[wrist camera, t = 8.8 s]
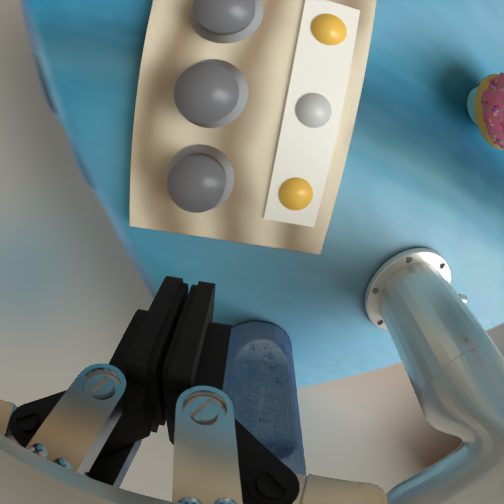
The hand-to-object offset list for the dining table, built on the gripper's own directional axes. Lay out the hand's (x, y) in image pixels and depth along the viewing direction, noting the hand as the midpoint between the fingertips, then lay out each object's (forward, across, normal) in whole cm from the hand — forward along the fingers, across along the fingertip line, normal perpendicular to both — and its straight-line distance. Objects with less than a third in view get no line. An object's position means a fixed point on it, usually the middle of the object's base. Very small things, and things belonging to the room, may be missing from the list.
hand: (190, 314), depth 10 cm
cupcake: (+22, -26, -14) cm, 37 cm away
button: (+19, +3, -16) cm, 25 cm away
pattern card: (+20, -6, -7) cm, 22 cm away
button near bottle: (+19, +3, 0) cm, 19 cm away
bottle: (+22, -5, +23) cm, 32 cm away
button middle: (+18, +3, -8) cm, 20 cm away
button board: (+22, 0, -8) cm, 23 cm away
